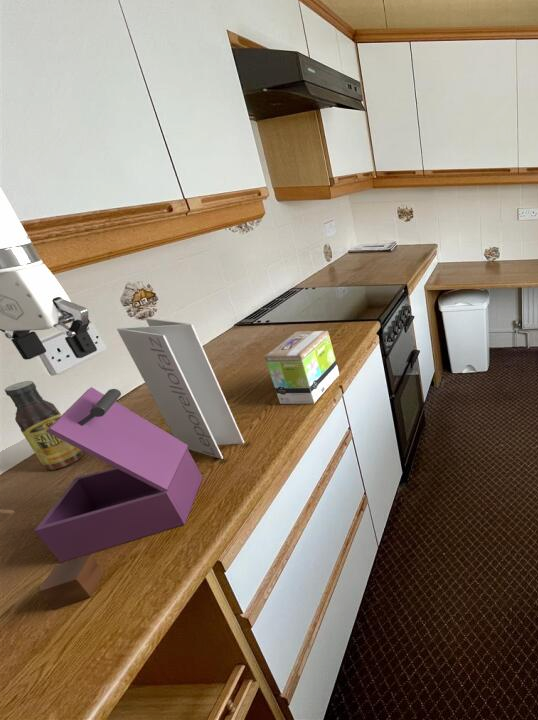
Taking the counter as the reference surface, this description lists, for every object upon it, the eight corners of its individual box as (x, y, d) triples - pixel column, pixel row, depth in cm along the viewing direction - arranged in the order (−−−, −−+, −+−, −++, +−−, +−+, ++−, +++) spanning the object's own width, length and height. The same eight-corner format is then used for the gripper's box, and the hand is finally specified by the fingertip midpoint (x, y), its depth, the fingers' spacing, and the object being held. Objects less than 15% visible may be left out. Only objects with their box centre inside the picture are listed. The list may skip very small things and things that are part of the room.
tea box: (316, 404, 106) (300, 354, 100) (279, 405, 107) (261, 355, 100) (341, 374, 120) (328, 329, 113) (308, 375, 120) (293, 330, 114)
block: (54, 610, 61) (37, 591, 59) (70, 583, 64) (55, 565, 62) (91, 597, 62) (76, 579, 60) (104, 572, 66) (91, 554, 64)
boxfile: (60, 563, 68) (33, 530, 64) (96, 507, 78) (75, 477, 75) (184, 524, 73) (166, 492, 70) (202, 477, 84) (187, 448, 81)
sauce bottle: (56, 474, 88) (0, 397, 79) (40, 468, 90) (-16, 392, 81) (92, 454, 93) (44, 380, 85) (77, 448, 95) (28, 376, 87)
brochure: (179, 446, 94) (116, 328, 81) (202, 431, 98) (146, 318, 85) (222, 458, 89) (162, 335, 76) (244, 442, 94) (192, 323, 81)
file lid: (45, 431, 60) (74, 410, 60) (87, 389, 71) (112, 371, 71) (163, 492, 70) (188, 473, 70) (184, 447, 80) (206, 431, 81)
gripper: (-79, 268, 61) (-10, 367, 68) (27, 263, 60) (86, 364, 67) (-17, 255, 68) (39, 346, 75) (79, 251, 67) (127, 344, 74)
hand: (61, 355), depth 71 cm, fingers open, 9 cm apart
